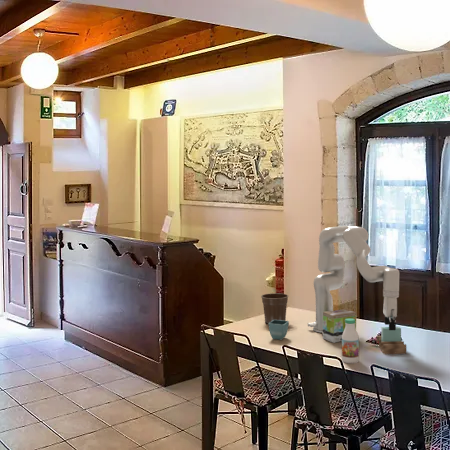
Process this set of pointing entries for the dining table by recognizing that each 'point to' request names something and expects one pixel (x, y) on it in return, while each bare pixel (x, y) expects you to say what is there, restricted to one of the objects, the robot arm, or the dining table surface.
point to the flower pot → (278, 329)
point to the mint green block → (390, 334)
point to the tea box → (336, 324)
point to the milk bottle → (350, 342)
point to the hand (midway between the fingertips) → (390, 327)
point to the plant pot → (274, 306)
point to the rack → (392, 347)
